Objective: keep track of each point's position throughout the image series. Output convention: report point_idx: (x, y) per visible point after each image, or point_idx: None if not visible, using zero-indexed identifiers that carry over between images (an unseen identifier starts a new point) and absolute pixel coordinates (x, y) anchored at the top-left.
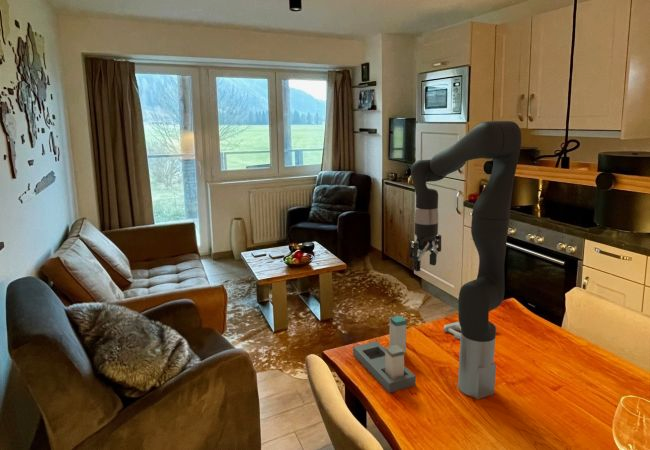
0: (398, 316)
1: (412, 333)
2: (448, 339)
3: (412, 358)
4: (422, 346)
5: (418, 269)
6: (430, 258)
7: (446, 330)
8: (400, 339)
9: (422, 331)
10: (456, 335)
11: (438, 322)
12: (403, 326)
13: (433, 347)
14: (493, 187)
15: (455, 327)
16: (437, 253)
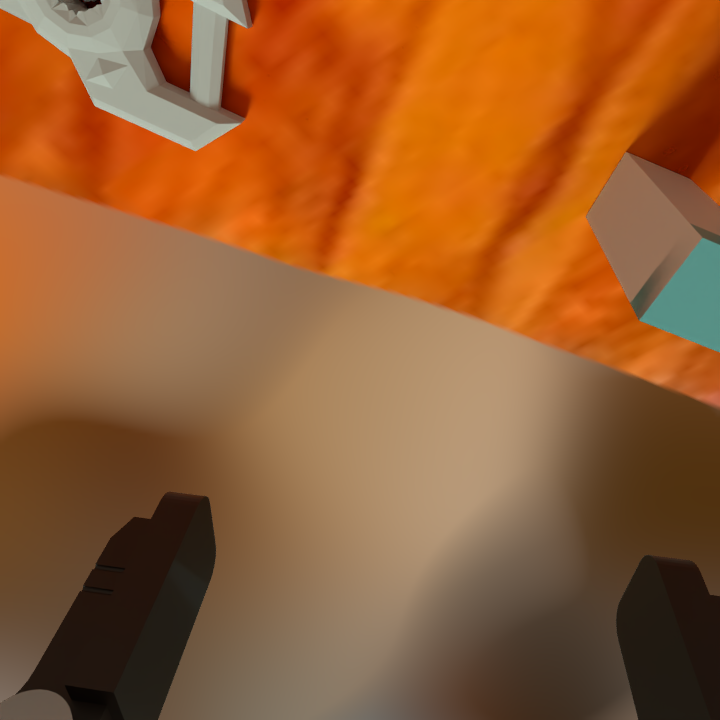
0: (665, 317)
1: (390, 250)
2: (297, 41)
3: (668, 80)
4: (489, 120)
5: (701, 593)
6: (174, 656)
7: (224, 111)
8: (696, 200)
9: (329, 222)
10: (242, 7)
11: (170, 213)
12: (708, 228)
13: (456, 57)
14: None
15: (158, 79)
16: (14, 716)
